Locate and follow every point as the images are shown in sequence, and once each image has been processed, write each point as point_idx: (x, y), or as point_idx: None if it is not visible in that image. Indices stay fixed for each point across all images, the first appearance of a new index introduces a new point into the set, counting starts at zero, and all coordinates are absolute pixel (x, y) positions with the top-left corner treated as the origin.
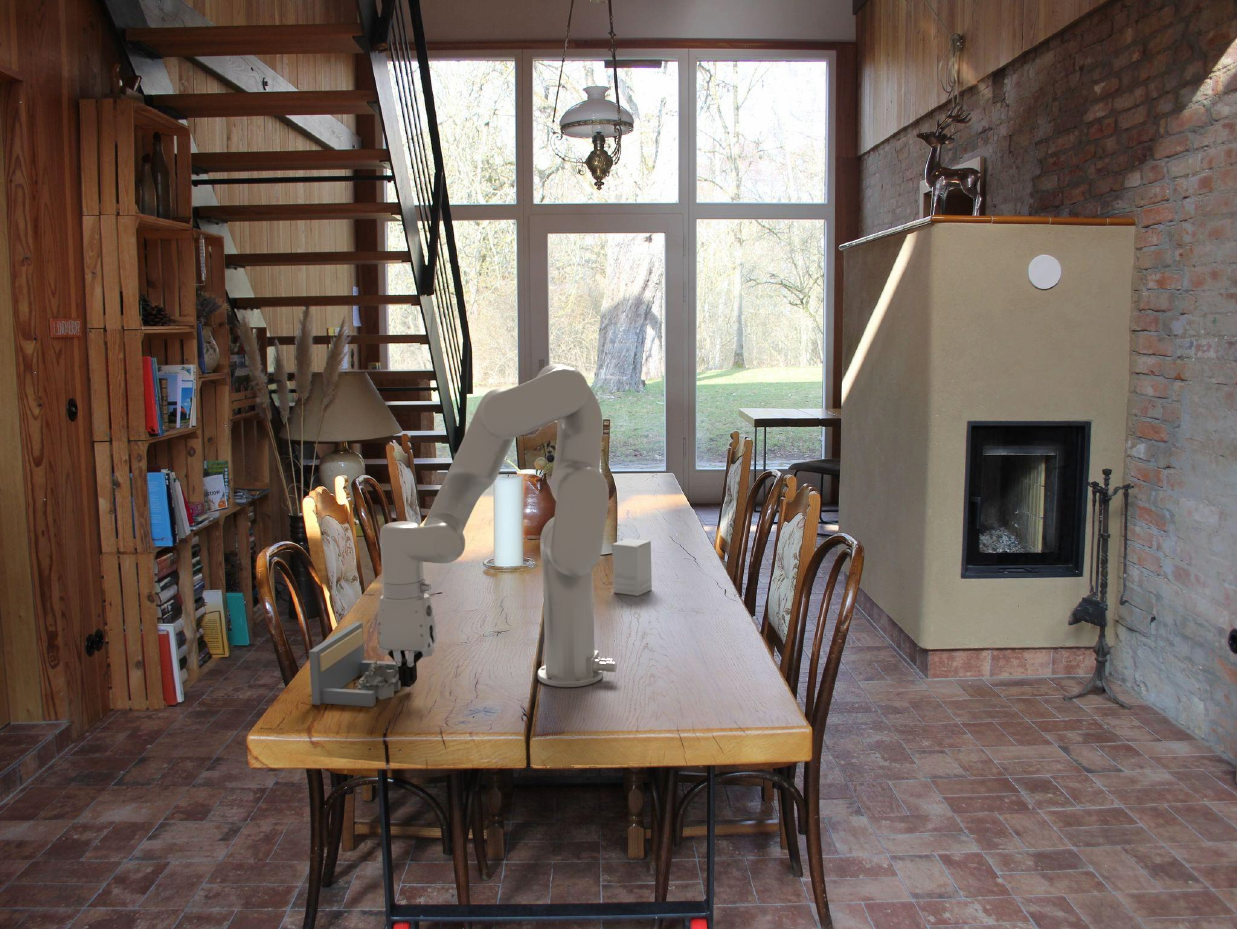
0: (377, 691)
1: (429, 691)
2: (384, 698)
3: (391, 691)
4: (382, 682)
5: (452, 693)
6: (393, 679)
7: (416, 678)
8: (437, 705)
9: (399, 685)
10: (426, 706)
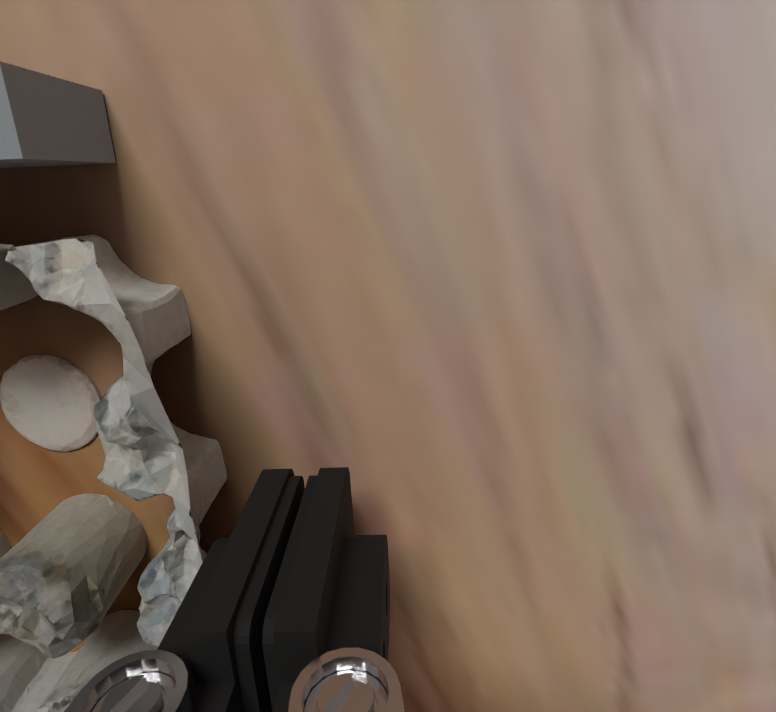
0: (130, 653)
1: (494, 450)
2: None
3: None
4: (92, 621)
5: (714, 454)
6: None
7: (387, 550)
8: (658, 670)
9: (211, 483)
10: (583, 694)
